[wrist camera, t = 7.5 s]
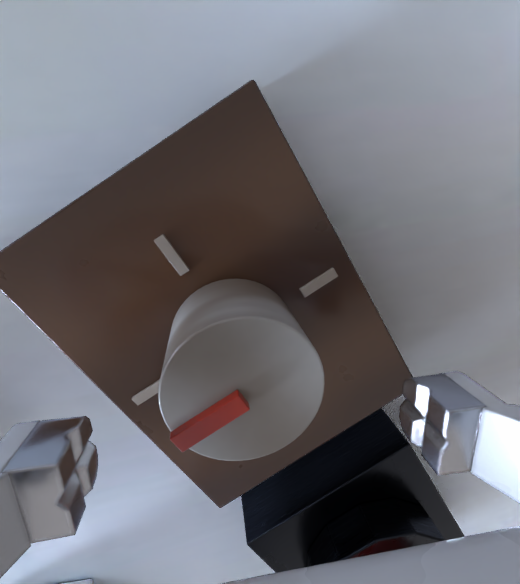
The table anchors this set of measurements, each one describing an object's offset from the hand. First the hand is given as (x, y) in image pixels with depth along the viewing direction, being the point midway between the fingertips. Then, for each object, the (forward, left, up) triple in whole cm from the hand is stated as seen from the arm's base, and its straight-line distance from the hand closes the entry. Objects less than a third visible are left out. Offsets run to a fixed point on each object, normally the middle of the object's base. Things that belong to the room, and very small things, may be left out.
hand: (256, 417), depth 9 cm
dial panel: (+1, 0, -7) cm, 7 cm away
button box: (-14, +1, -7) cm, 16 cm away
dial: (+1, 0, -4) cm, 4 cm away
